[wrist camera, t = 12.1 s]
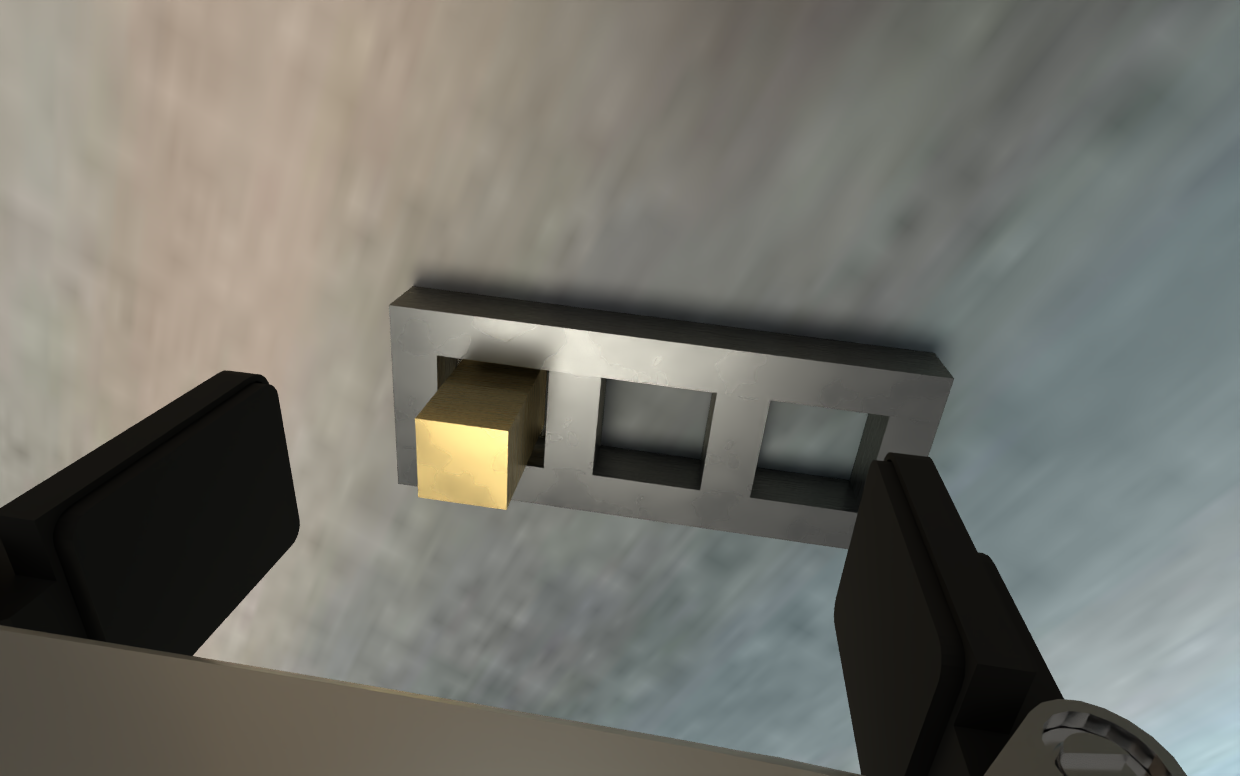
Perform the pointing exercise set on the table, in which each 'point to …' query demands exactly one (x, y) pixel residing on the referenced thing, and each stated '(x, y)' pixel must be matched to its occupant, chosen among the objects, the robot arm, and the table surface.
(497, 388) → the brass peg
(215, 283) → the table surface
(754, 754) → the robot arm
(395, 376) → the steel rail
